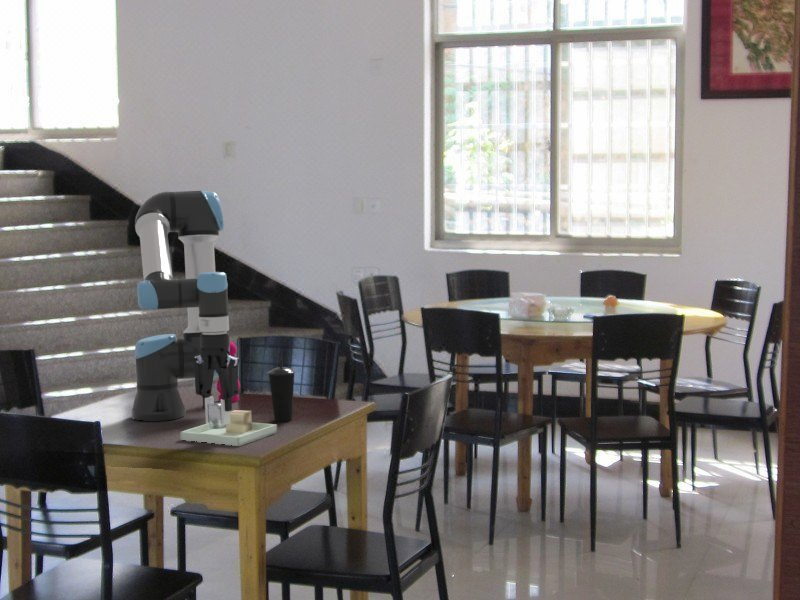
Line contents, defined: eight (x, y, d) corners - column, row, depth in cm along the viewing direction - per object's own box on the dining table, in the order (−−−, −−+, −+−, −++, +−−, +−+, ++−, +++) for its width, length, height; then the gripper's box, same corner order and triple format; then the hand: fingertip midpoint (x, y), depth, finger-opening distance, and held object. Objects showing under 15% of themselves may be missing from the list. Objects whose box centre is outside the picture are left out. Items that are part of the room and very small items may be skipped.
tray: (180, 440, 281) (179, 431, 281) (220, 427, 296) (220, 419, 296) (238, 446, 273) (238, 437, 272) (277, 432, 288) (277, 424, 287)
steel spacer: (213, 425, 282) (212, 402, 282) (229, 425, 282) (228, 402, 281) (206, 428, 278) (205, 405, 278) (222, 429, 277) (222, 405, 277)
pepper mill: (221, 398, 341) (218, 335, 339) (243, 398, 340) (241, 334, 338) (214, 402, 334) (211, 338, 332) (236, 402, 333) (234, 337, 331)
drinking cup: (271, 417, 309) (269, 347, 307) (298, 416, 308) (296, 346, 306) (267, 422, 301) (264, 351, 299) (295, 422, 301) (292, 350, 299)
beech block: (235, 428, 291) (234, 410, 291) (251, 429, 290) (251, 410, 289) (226, 432, 287) (225, 413, 286) (242, 433, 285) (242, 414, 285)
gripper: (178, 333, 279) (182, 423, 281) (233, 335, 271) (236, 428, 273) (196, 330, 285) (200, 418, 287) (250, 332, 277) (254, 422, 279)
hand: (218, 422), depth 280 cm, fingers closed on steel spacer, 4 cm apart
